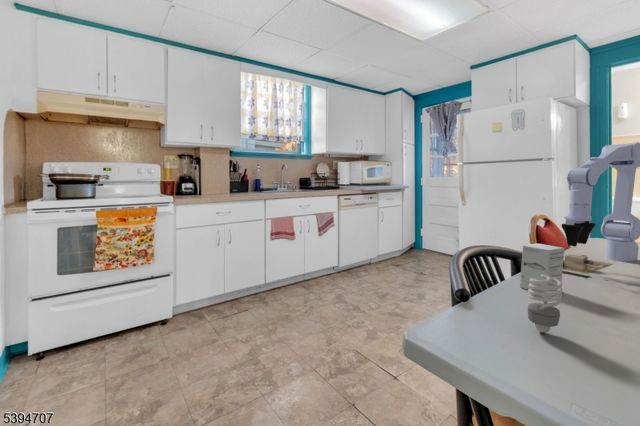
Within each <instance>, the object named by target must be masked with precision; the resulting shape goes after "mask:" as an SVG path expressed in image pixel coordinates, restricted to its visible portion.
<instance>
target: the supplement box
mask: <svg viewBox="0 0 640 426" xmlns="http://www.w3.org/2000/svg"><path fill="white" fill-rule="evenodd" d="M564 259H565V247H560V246H554V245H549V244H543V243H537V242H536V243H530V244H523V245H522V255H521V268H520V280H519V281H520V282H519V288H520V287H521V288H522V289H525V290H528V289H533V288H530V287H529V286H528V285H529V284H530V283H532V282H530V281H529V280H530V279H531V278H538V279H543V278H541V277H540V275H546V276H550V277H553V278H556V279H558V280H559V281H561V283H562V280H563V279H562V278H563V273H562V271H564V269H563V260H564ZM543 280H546V279H543ZM551 282H553V283H555V284H557V283H556V282H554V281H551ZM535 284H536V283H535ZM542 285H546V286H551V285H548V284H542ZM556 290H558V289H556ZM544 291H547V292H552V291H549V290H544Z"/></svg>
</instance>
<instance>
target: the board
mask: <svg viewBox="0 0 640 426" xmlns="http://www.w3.org/2000/svg"><path fill="white" fill-rule="evenodd" d="M580 256H585V257H588V256H587V255H585V254H581V255H580ZM588 261H593V262H594V263H593V265H590V264H587V269H585V270H577V269H572V268H567V267H564V263H565V259H563V270H562V274H565V275H570V276H574V277H578V278H583V279H584V278H585V279H589V278H591V277H592V276H590V275H588V274H590V273H593V272H597V271H598V270H602V269H604V268H607V267H611V266H613V265H614V263H610V262H604V261H597V260H591V259H588ZM565 270H566V271H565ZM569 271H571V272H569ZM581 273H582V274H581Z"/></svg>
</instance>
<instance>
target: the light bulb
mask: <svg viewBox="0 0 640 426" xmlns="http://www.w3.org/2000/svg"><path fill="white" fill-rule="evenodd" d="M540 277H541V278H543V279H546V280H543V279H538V278H531V279H530V280H529V281H530V282H532V283H530V284H529V285H528V286H529V287H530V288H533V289H527V292H528V293H529V294H528V297H529V299H530V300H533V301H538V302H532V303H529V304H528V305H527V318H528V320H529V321H530V322H531V323H533V324H534V329H535V330H536V331H538V332H539V333H541V334H546V333H549V332H550V331H551V327H557V326H558V325H559V322H560V317H561V311H560V309H558V308H557V306H559V305H560V304H561V303H562V298H563V294H562V293H563V288H562V287H563V283H562V282H561V281H559V280H558V279H556V278H553V277H550V276H546V275H540ZM551 281H554V282H556V283H557V284H555V283H553V282H551ZM535 283H536V284H535ZM542 284H548V285H551V286H546V285H542ZM556 289H558V290H556ZM544 290H549V291H552V292H547V291H544ZM541 302H543V303H541Z"/></svg>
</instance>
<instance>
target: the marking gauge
mask: <svg viewBox="0 0 640 426" xmlns="http://www.w3.org/2000/svg"><path fill="white" fill-rule="evenodd" d="M564 260H565V263H564V267H567V268H572V269H577V270H585V269H587V264H590V265H593V263H594V262H593V261H594V260H592V261H588V260H589V257H588V256H587V257H585V256H581V255H578V254H574V253H573V254H572V253H569V254H566V255H565V254H564Z"/></svg>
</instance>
